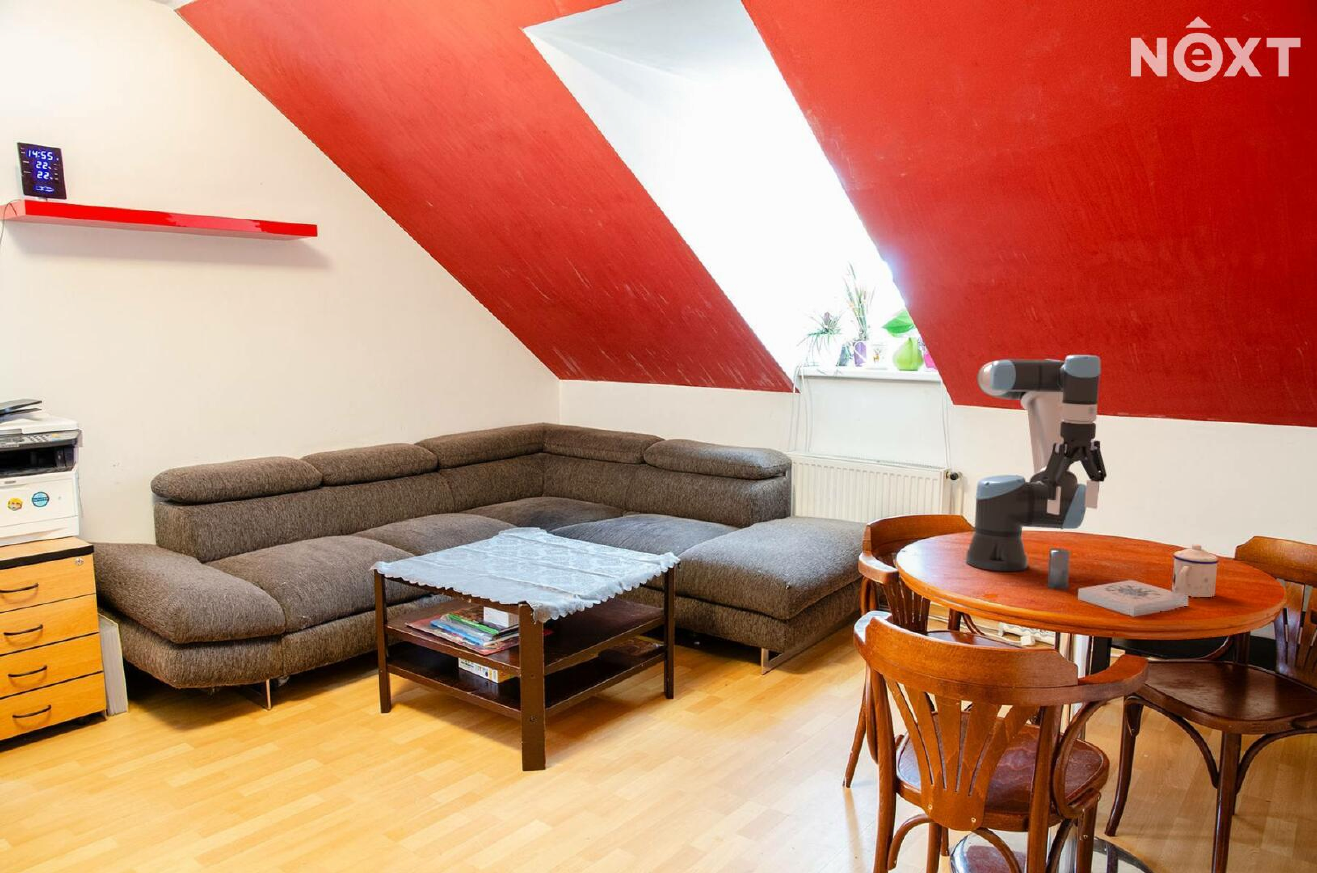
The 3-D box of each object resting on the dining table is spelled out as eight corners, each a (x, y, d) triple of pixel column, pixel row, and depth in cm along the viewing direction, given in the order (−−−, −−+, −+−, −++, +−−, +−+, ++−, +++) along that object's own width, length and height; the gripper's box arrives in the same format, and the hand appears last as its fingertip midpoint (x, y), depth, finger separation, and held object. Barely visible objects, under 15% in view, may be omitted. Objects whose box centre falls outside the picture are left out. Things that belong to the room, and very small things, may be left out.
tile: (1077, 599, 205) (1078, 588, 205) (1130, 590, 213) (1131, 580, 213) (1133, 616, 193) (1134, 605, 192) (1187, 606, 200) (1188, 595, 200)
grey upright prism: (1043, 586, 216) (1045, 549, 215) (1056, 583, 218) (1058, 547, 217) (1058, 590, 212) (1061, 553, 211) (1071, 588, 214) (1074, 551, 213)
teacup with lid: (1179, 585, 217) (1183, 538, 216) (1221, 594, 210) (1225, 545, 209) (1159, 594, 210) (1163, 545, 208) (1202, 603, 203) (1206, 553, 201)
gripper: (1056, 426, 200) (1050, 519, 203) (1127, 420, 212) (1120, 508, 215) (1028, 422, 207) (1022, 512, 210) (1098, 417, 218) (1092, 502, 221)
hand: (1072, 510), depth 212 cm, fingers open, 13 cm apart
